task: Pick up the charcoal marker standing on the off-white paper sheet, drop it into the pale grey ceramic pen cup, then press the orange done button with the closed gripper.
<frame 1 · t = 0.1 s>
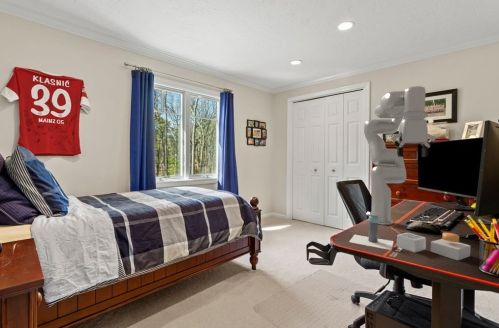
hand: (412, 156, 109), 37 cm above the table, tool pointing down, fingers open, 9 cm apart
paper: (371, 242, 110), on the table
button box: (449, 253, 97), on the table
done button: (450, 237, 97), point 6 cm above the table, slide at 0.0 cm
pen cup: (410, 248, 103), on the table
marker: (372, 241, 110), resting on paper
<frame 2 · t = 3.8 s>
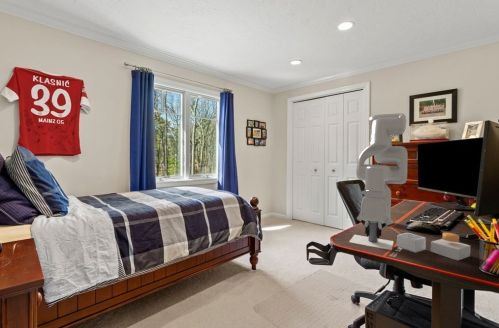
hand: (373, 236, 110), 2 cm above the table, tool pointing down, fingers closed on marker, 3 cm apart
marker: (372, 241, 110), resting on paper, touching gripper
everything else where it was.
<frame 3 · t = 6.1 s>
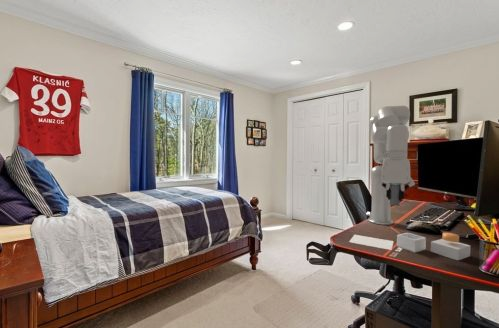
hand: (394, 199, 105), 19 cm above the table, tool pointing down, fingers closed on marker, 3 cm apart
marker: (394, 204, 105), point 17 cm above the table, touching gripper
everything else where it was.
when the fingers open (9 cm above the table, at t = 8.8 s): marker drops 6 cm, resting on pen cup.
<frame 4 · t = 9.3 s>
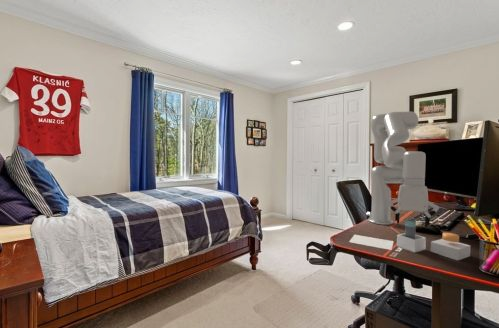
hand: (411, 224, 102), 10 cm above the table, tool pointing down, fingers open, 9 cm apart
marker: (409, 246, 103), point 1 cm above the table, touching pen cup
everything else where it was.
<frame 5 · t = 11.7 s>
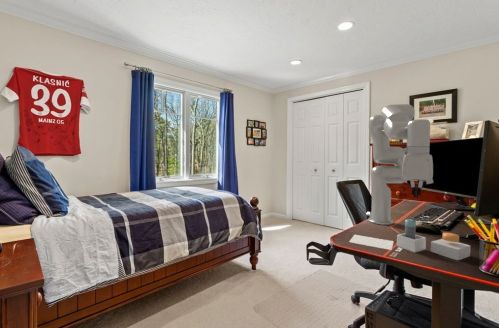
hand: (416, 197, 101), 21 cm above the table, tool pointing down, fingers closed
nothing on the table moved.
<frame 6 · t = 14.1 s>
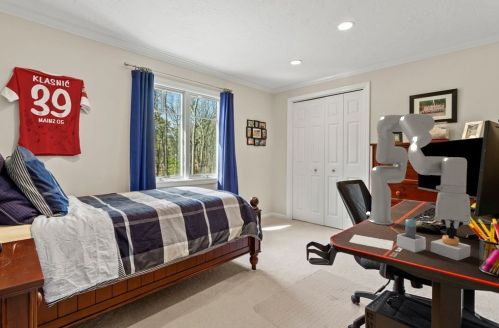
hand: (451, 237, 97), 6 cm above the table, tool pointing down, fingers closed
done button: (450, 239, 97), point 5 cm above the table, slide at 1.1 cm, touching gripper
everything else where it was.
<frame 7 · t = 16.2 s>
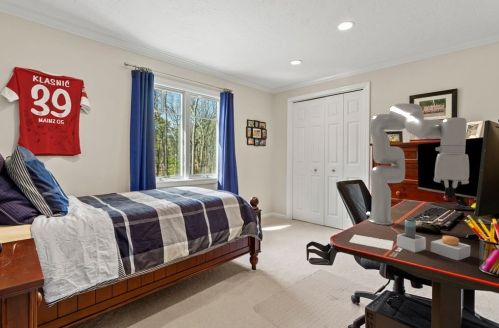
hand: (449, 197, 98), 21 cm above the table, tool pointing down, fingers closed
done button: (450, 240, 97), point 5 cm above the table, slide at 1.2 cm
everything else where it was.
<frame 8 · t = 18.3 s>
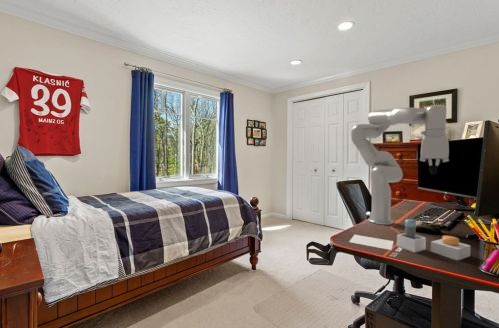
hand: (433, 174, 115), 29 cm above the table, tool pointing down, fingers closed
nothing on the table moved.
at the end: marker 0.4 cm off-centre on the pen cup, point 0.6 cm above the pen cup's base; the gripper is holding nothing; done button slide at 1.2 cm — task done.
